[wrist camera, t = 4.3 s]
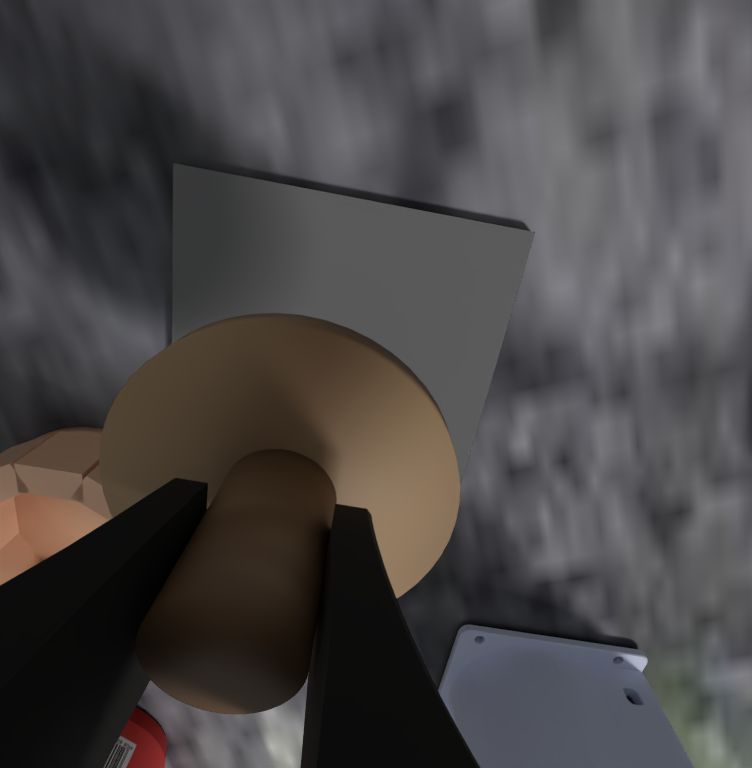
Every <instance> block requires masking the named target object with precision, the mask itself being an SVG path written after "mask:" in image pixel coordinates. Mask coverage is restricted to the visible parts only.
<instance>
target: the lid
mask: <svg viewBox="0 0 752 768" xmlns="http://www.w3.org/2000/svg"><path fill="white" fill-rule="evenodd" d="M99 468H100V478H101V483H102V488H103V494H104V496H105V499H106V502H107V505H108V508H109V511H110V513H111V515H112V517H115V516H117V515H118V514H120V513H121V512H123V511H124V510H126V509H127V508H129V507H130V506H132V505H134V504H135V503H137V502H138V501H140V500H141V499H143V498H144V497H146V496H147V495H149V494H150V493H152V492H154V491H155V490H157V489H158V488H160V487H161V486H163V485H164V484H166V483H168V482H169V481H171V480H172V479H174V478H181V479H187V480H193V481H199V482H206V483H208V492H207V511H206V512H205V514H204V516H203V518H202V519H201V521H200V523H199V525H198V526H197V528H196V530H195V532H194V533H193V535H192V537H191V538H190V540H189V542H188V544H187V545H186V547H185V549H184V551H183V552H182V554H181V556H180V558H179V559H178V561H177V563H176V564H175V566H174V568H173V570H172V571H171V573H170V575H169V577H168V578H167V580H166V582H165V584H164V585H163V587H162V589H161V591H160V592H159V594H158V596H157V597H156V599H155V601H154V603H153V604H152V606H151V608H150V610H149V611H148V613H147V615H146V617H145V618H144V620H143V622H142V623H141V625H140V627H139V630H138V632H137V636H136V654H137V658H138V660H139V663H140V665H141V667H142V669H143V670H144V672H145V673H146V675H147V676H148V677H149V679H150V680H151V681H152V682H153V683H154V684H155V685H156V686H158V687H159V688H160V689H161V690H163V691H164V692H165V693H167V694H168V695H170V696H171V697H173V698H175V699H177V700H179V701H181V702H183V703H185V704H187V705H190V706H192V707H196V708H199V709H202V710H206V711H210V712H216V713H222V714H250V713H257V712H262V711H266V710H269V709H272V708H275V707H277V706H279V705H281V704H283V703H285V702H287V701H288V700H289V699H291V698H292V697H293V696H295V695H296V694H297V693H298V691H299V690H300V689H301V688H302V686H303V685H304V683H305V681H306V679H307V676H308V672H309V667H310V661H311V655H312V649H313V643H314V637H315V631H316V625H317V619H318V613H319V607H320V601H321V592H322V583H323V572H324V566H325V560H326V554H327V548H328V542H329V536H330V531H331V525H332V519H333V514H334V508H335V504H341V505H347V506H353V507H359V508H366V509H368V511H369V512H370V513H371V515H372V522H373V526H374V531H375V535H376V539H377V543H378V546H379V549H380V553H381V556H382V559H383V562H384V566H385V568H386V571H387V574H388V577H389V580H390V583H391V585H392V588H393V590H394V593H395V596H396V598H398V597H400V596H402V595H403V594H404V593H406V592H407V591H408V590H409V589H411V588H412V587H413V586H415V585H416V584H417V583H418V582H419V581H420V580H421V579H422V578H423V577H424V576H425V575H426V574H427V573H428V572H429V571H430V570H431V568H432V567H433V566H434V564H435V563H436V562H437V560H438V559H439V558H440V556H441V555H442V553H443V551H444V549H445V547H446V545H447V543H448V542H449V540H450V537H451V534H452V532H453V529H454V526H455V523H456V519H457V514H458V508H459V503H460V478H459V471H458V464H457V459H456V455H455V451H454V448H453V444H452V440H451V437H450V434H449V430H448V427H447V424H446V421H445V419H444V417H443V415H442V413H441V411H440V408H439V406H438V404H437V403H436V401H435V400H434V398H433V397H432V395H431V393H430V392H429V390H428V389H427V387H426V386H425V385H424V384H423V382H422V381H421V380H420V379H419V378H418V377H417V376H416V374H415V373H414V372H413V371H412V370H411V369H410V368H409V367H408V366H407V365H406V364H405V363H403V362H402V361H401V360H400V359H399V358H398V357H396V356H395V355H394V354H393V353H392V352H390V351H389V350H387V349H386V348H384V347H383V346H381V345H380V344H378V343H377V342H375V341H374V340H372V339H370V338H368V337H366V336H364V335H362V334H360V333H358V332H356V331H354V330H352V329H350V328H347V327H344V326H341V325H338V324H335V323H333V322H330V321H327V320H323V319H318V318H313V317H309V316H304V315H296V314H284V313H261V314H248V315H243V316H237V317H232V318H226V319H223V320H220V321H217V322H214V323H211V324H208V325H205V326H203V327H201V328H199V329H197V330H195V331H193V332H191V333H189V334H187V335H185V336H183V337H181V338H180V339H179V340H177V341H176V342H174V343H173V344H171V345H170V346H168V347H167V348H165V349H164V350H163V351H161V352H160V353H158V354H157V355H155V356H154V357H153V358H151V359H150V360H148V361H147V362H146V363H145V364H144V365H143V366H142V367H140V368H139V369H138V370H137V371H136V372H135V373H134V374H133V375H132V376H131V377H130V378H129V380H128V381H127V382H126V384H125V385H124V387H123V388H122V389H121V391H120V392H119V393H118V395H117V396H116V398H115V400H114V402H113V404H112V406H111V408H110V410H109V412H108V414H107V418H106V421H105V424H104V427H103V431H102V434H101V442H100V450H99Z"/></svg>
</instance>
